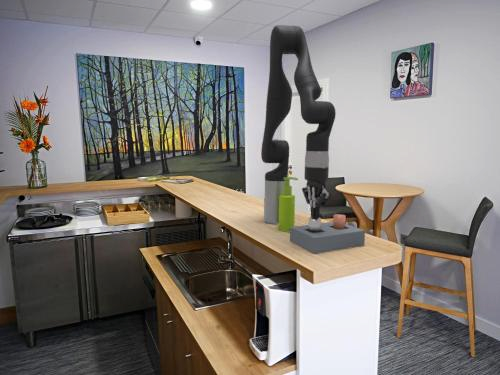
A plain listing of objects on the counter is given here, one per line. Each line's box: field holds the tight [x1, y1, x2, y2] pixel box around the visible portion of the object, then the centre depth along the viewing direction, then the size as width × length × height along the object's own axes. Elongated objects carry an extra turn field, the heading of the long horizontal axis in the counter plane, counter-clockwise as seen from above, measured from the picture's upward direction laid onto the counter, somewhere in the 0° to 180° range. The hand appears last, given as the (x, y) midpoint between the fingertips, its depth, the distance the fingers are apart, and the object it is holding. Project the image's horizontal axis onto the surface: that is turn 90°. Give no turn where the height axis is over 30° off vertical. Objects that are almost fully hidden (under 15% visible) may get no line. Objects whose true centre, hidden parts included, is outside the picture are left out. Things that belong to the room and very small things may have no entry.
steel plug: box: [308, 216, 322, 233], centre depth 121 cm, size 4×4×5 cm
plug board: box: [289, 221, 366, 255], centre depth 124 cm, size 14×20×5 cm
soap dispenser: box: [278, 176, 299, 233], centre depth 139 cm, size 6×7×20 cm
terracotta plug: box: [332, 213, 347, 230], centre depth 126 cm, size 4×4×5 cm
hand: (314, 218), depth 121 cm, fingers closed
